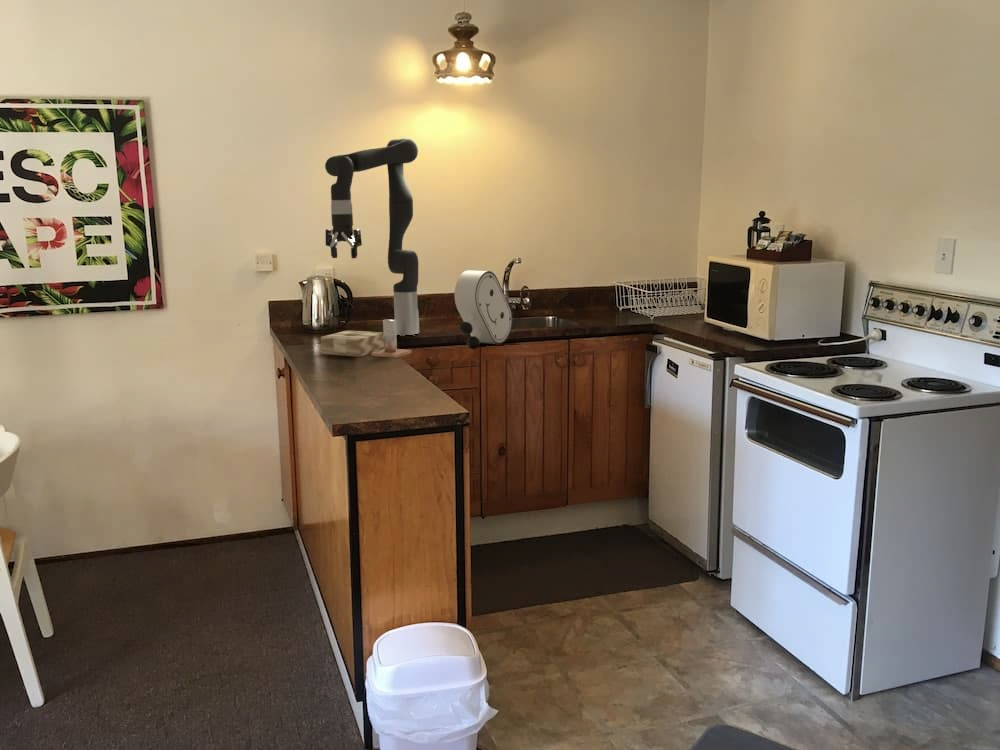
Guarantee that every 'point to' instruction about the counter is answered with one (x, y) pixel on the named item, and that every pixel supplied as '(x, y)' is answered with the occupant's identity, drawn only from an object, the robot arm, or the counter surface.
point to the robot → (482, 308)
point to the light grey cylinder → (389, 335)
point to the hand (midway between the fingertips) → (344, 258)
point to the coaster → (391, 353)
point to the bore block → (352, 343)
